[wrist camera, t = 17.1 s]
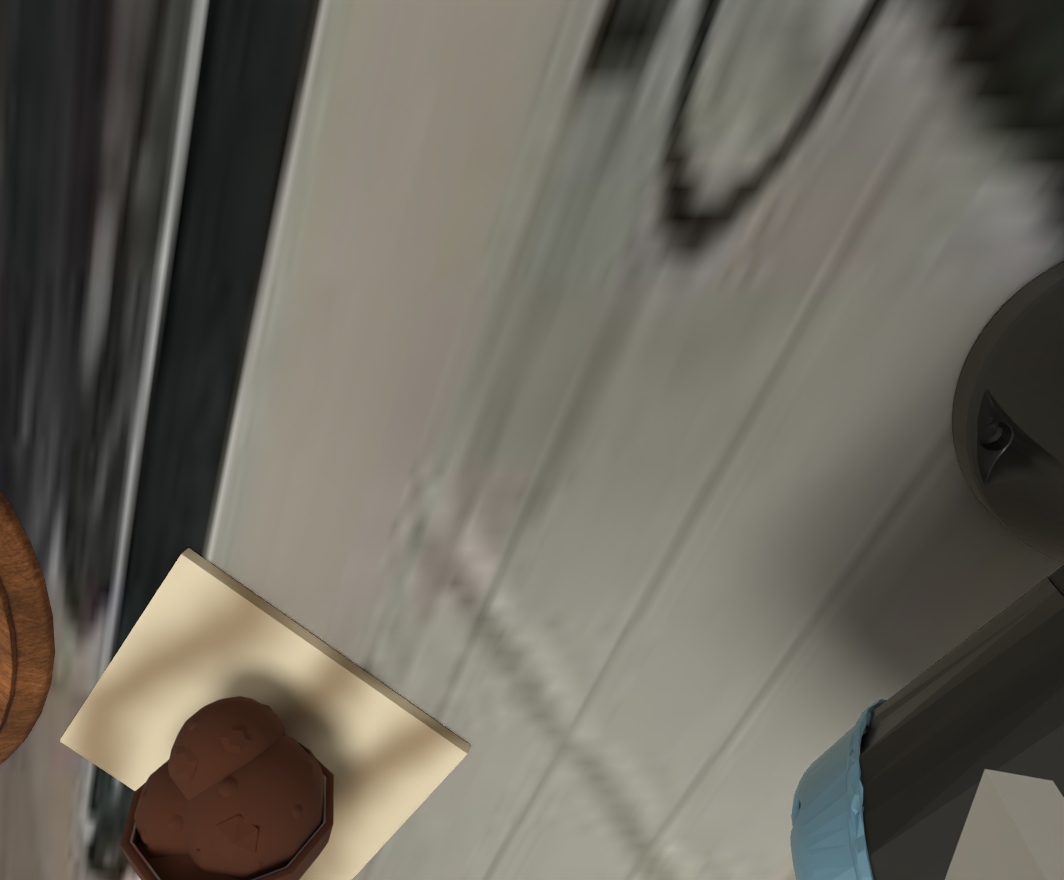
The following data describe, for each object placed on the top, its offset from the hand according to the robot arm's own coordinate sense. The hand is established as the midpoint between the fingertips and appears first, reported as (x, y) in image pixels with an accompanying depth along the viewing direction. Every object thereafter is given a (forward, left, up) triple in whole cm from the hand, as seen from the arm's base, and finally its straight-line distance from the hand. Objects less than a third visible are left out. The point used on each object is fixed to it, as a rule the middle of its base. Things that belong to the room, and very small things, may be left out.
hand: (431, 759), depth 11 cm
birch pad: (0, +33, -32) cm, 46 cm away
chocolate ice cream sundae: (-5, +40, -26) cm, 49 cm away
